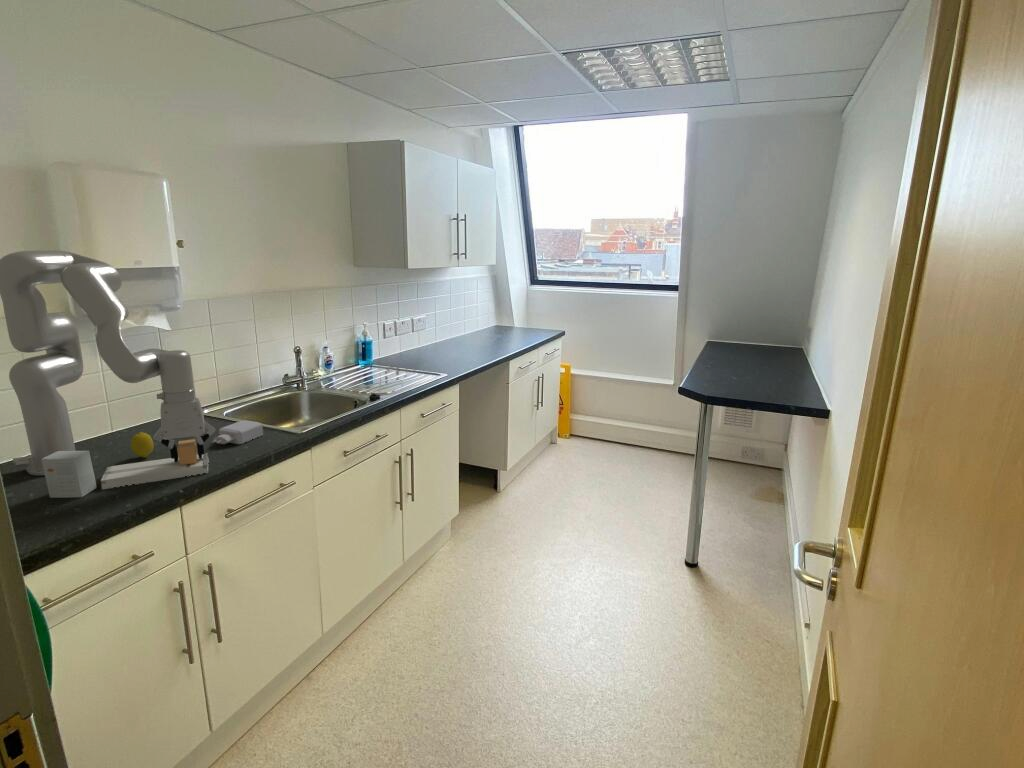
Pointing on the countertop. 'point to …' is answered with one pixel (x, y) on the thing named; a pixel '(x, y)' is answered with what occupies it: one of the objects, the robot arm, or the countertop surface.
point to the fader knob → (187, 452)
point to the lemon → (142, 444)
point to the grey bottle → (239, 432)
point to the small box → (69, 474)
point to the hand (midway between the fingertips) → (188, 458)
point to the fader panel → (151, 471)
